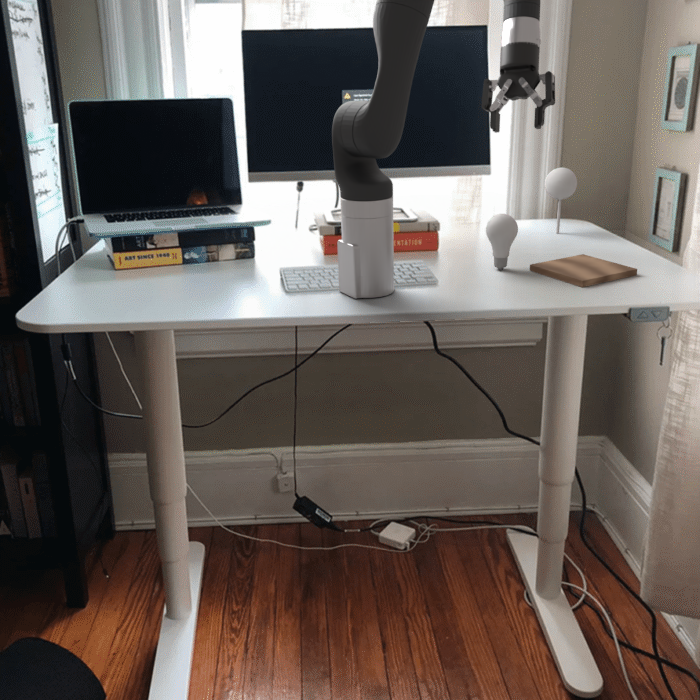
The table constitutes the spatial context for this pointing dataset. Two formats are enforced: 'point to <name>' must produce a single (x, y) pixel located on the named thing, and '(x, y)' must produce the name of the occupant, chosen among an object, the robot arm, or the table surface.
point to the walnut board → (583, 270)
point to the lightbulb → (501, 237)
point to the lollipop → (560, 187)
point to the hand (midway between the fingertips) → (516, 130)
